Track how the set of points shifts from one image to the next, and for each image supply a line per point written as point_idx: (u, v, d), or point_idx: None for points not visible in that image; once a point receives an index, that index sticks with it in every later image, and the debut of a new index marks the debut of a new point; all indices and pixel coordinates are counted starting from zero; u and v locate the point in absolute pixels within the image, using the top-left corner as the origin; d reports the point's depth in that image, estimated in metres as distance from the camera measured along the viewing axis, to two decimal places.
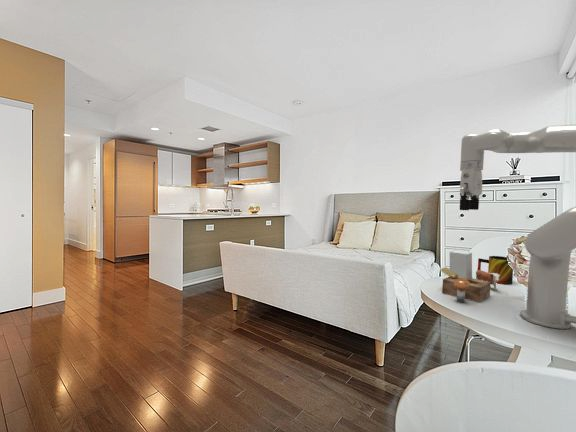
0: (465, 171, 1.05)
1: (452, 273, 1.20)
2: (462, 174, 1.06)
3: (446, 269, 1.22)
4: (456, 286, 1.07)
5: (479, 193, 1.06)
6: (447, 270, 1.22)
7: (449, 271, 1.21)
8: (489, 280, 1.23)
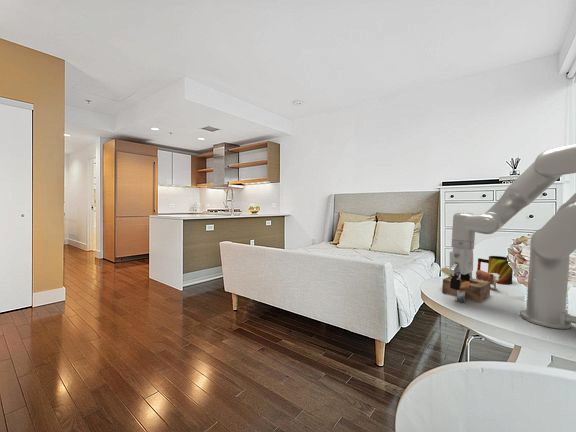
0: (456, 250, 1.05)
1: None
2: (453, 253, 1.06)
3: (446, 269, 1.22)
4: None
5: (470, 271, 1.06)
6: (447, 270, 1.22)
7: (449, 271, 1.21)
8: (489, 280, 1.23)
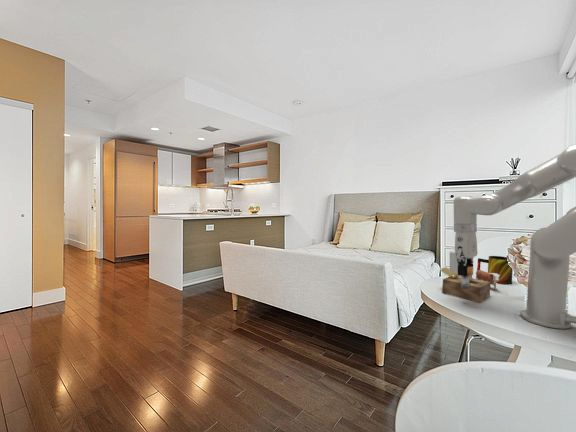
0: (459, 234, 1.04)
1: (452, 273, 1.20)
2: (456, 237, 1.05)
3: (446, 269, 1.22)
4: None
5: (474, 255, 1.05)
6: (447, 270, 1.22)
7: (449, 271, 1.21)
8: (489, 280, 1.23)
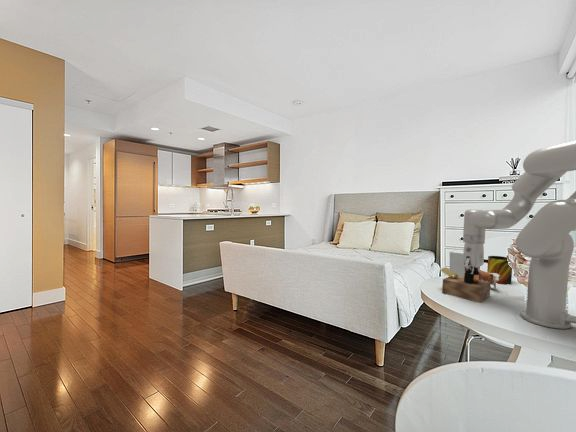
0: (468, 245, 1.11)
1: (452, 273, 1.20)
2: (465, 247, 1.12)
3: (446, 269, 1.22)
4: None
5: (481, 264, 1.13)
6: (447, 270, 1.22)
7: (449, 271, 1.21)
8: (489, 280, 1.23)
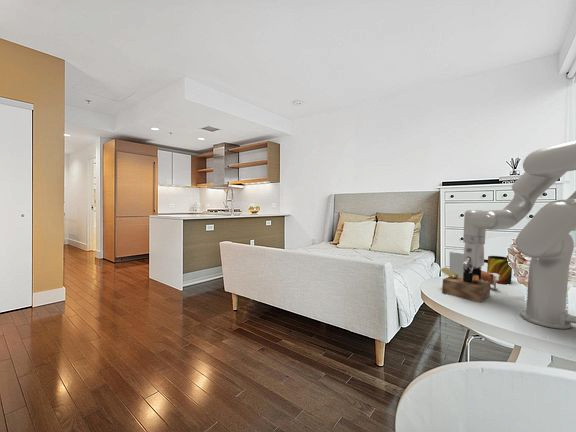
0: (468, 245, 1.11)
1: (452, 273, 1.20)
2: (465, 248, 1.12)
3: (446, 269, 1.22)
4: None
5: (481, 265, 1.13)
6: (447, 270, 1.22)
7: (449, 271, 1.21)
8: (489, 280, 1.23)
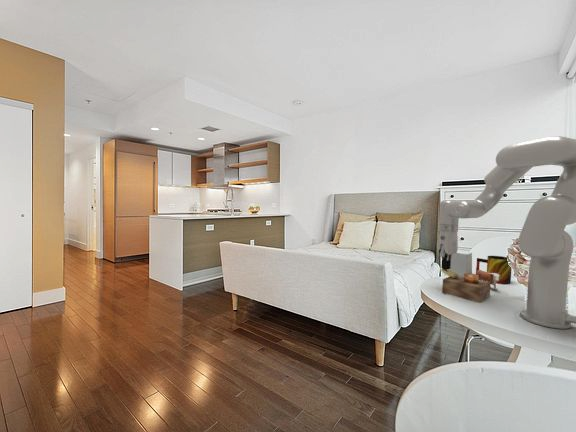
0: (442, 233, 1.19)
1: (452, 273, 1.20)
2: (439, 235, 1.20)
3: (446, 269, 1.22)
4: (466, 280, 1.14)
5: (454, 252, 1.21)
6: (447, 270, 1.22)
7: (449, 271, 1.21)
8: (489, 280, 1.23)
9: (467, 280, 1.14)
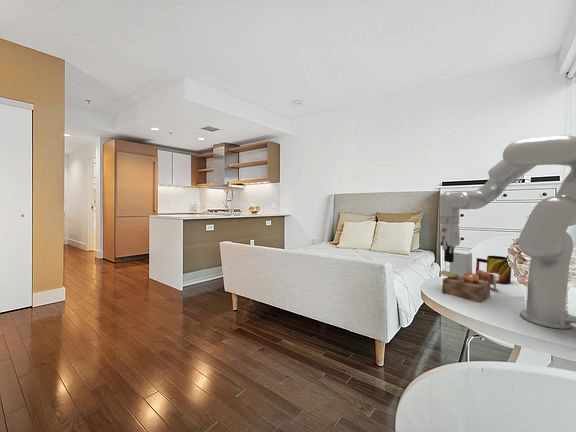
0: (443, 226, 1.18)
1: (451, 274, 1.21)
2: (441, 228, 1.19)
3: (445, 271, 1.23)
4: (466, 280, 1.14)
5: (457, 244, 1.20)
6: (446, 272, 1.22)
7: (448, 272, 1.22)
8: (489, 280, 1.23)
9: (467, 280, 1.14)
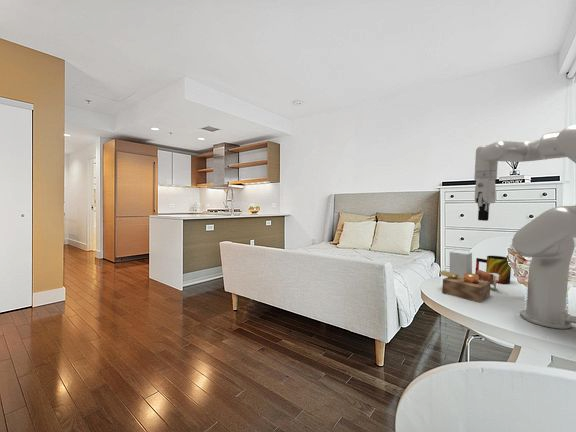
0: (480, 181, 1.10)
1: (451, 274, 1.21)
2: (477, 183, 1.11)
3: (445, 271, 1.23)
4: (466, 280, 1.14)
5: (493, 201, 1.11)
6: (446, 272, 1.22)
7: (448, 273, 1.22)
8: (489, 280, 1.23)
9: (467, 280, 1.14)
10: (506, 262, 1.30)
